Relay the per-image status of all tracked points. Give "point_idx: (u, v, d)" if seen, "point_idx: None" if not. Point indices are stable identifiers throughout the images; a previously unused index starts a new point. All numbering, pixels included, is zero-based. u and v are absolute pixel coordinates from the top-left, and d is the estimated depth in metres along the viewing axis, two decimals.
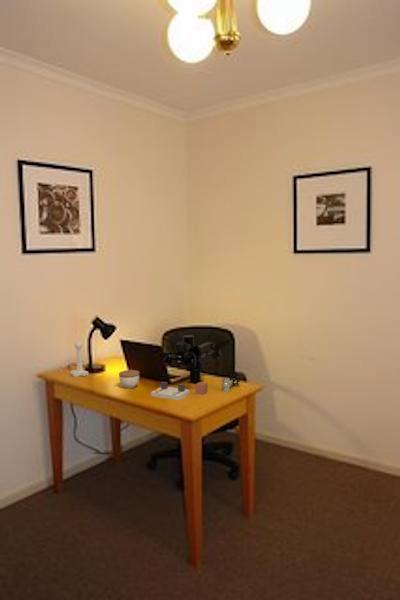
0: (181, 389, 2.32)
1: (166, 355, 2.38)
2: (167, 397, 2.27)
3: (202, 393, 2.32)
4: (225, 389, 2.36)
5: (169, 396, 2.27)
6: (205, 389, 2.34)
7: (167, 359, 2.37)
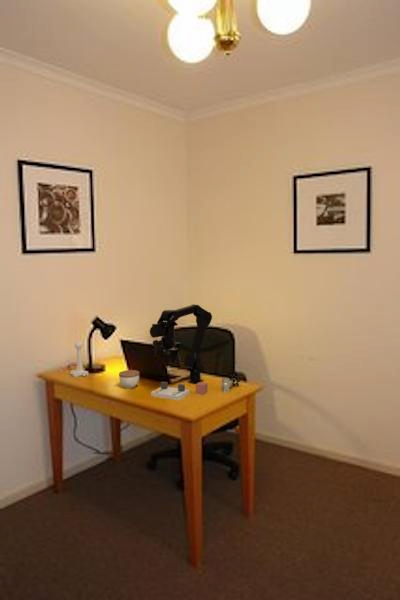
0: (181, 389, 2.32)
1: None
2: (167, 397, 2.27)
3: (202, 393, 2.32)
4: (225, 389, 2.35)
5: (169, 396, 2.27)
6: (205, 389, 2.34)
7: (172, 354, 2.43)
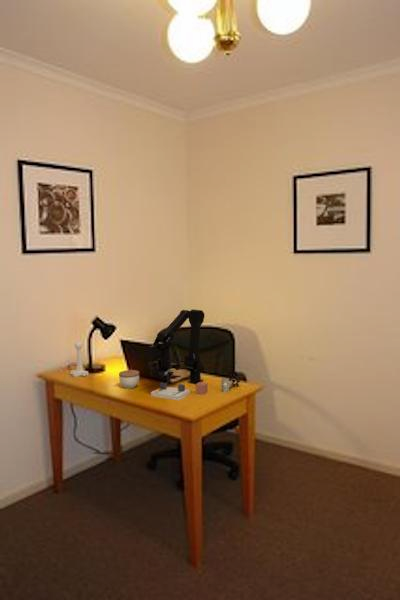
0: (181, 389, 2.32)
1: None
2: (167, 397, 2.27)
3: (202, 393, 2.32)
4: (224, 389, 2.35)
5: (169, 396, 2.27)
6: (205, 389, 2.34)
7: None
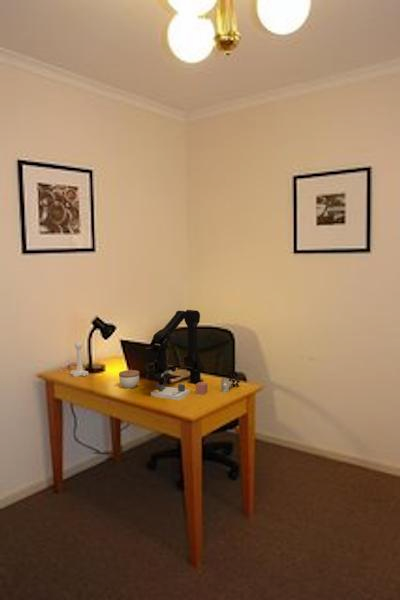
0: (181, 389, 2.32)
1: None
2: (167, 397, 2.27)
3: (202, 393, 2.32)
4: (224, 390, 2.35)
5: (169, 396, 2.27)
6: (205, 389, 2.34)
7: None
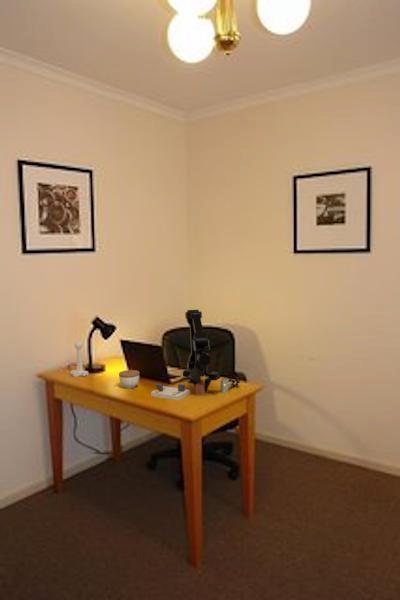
0: (181, 389, 2.32)
1: (193, 380, 2.34)
2: (167, 397, 2.27)
3: (202, 393, 2.32)
4: (224, 390, 2.34)
5: (169, 396, 2.27)
6: None
7: (196, 381, 2.35)
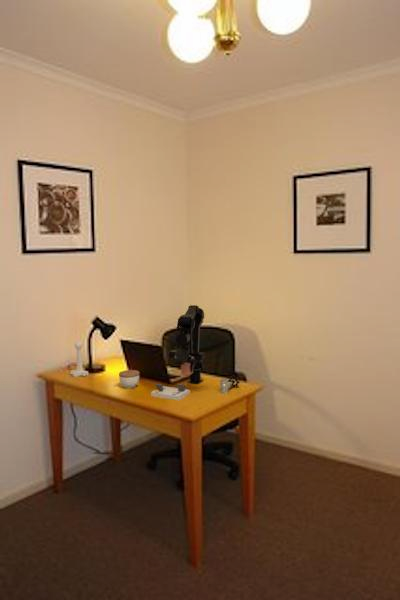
0: (181, 389, 2.32)
1: (178, 360, 2.34)
2: (167, 397, 2.27)
3: (188, 373, 2.32)
4: (223, 390, 2.34)
5: (169, 396, 2.27)
6: None
7: (182, 362, 2.35)
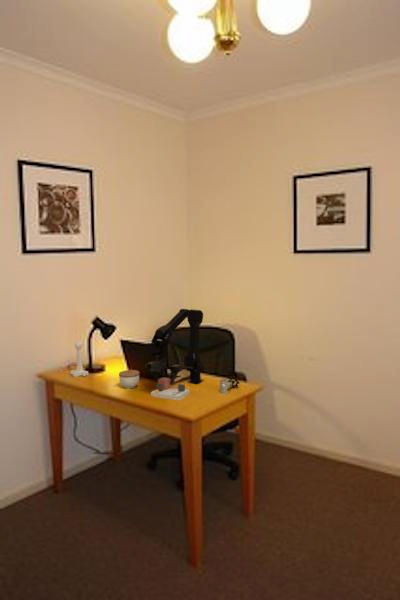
0: (181, 389, 2.32)
1: (151, 372, 2.37)
2: (167, 397, 2.27)
3: (164, 388, 2.34)
4: (223, 391, 2.33)
5: (169, 396, 2.27)
6: (167, 384, 2.36)
7: (155, 373, 2.38)
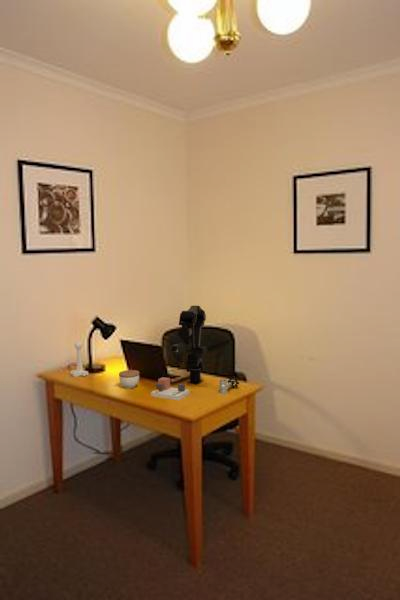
0: (181, 389, 2.32)
1: (176, 354, 2.39)
2: (167, 397, 2.27)
3: (164, 388, 2.34)
4: (222, 391, 2.33)
5: (169, 396, 2.27)
6: (167, 384, 2.36)
7: (180, 355, 2.40)
